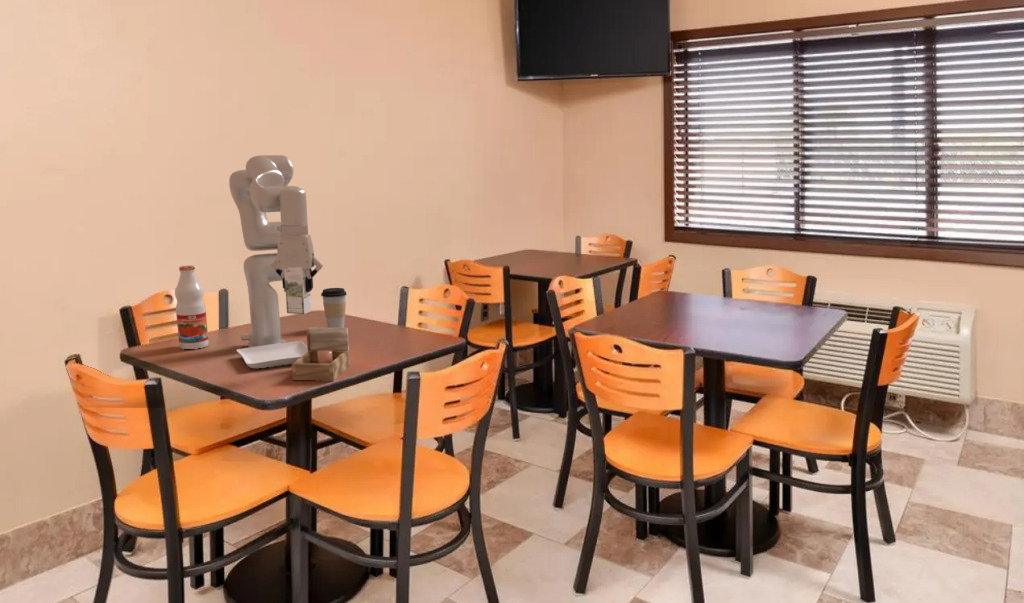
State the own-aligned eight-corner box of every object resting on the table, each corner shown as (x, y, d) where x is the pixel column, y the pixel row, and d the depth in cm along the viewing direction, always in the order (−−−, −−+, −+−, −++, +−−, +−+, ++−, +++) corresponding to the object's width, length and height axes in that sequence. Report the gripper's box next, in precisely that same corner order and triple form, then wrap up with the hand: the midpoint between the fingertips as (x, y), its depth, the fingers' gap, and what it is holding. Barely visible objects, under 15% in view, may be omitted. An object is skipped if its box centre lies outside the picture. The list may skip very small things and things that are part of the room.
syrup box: (312, 310, 235) (309, 262, 232) (304, 314, 229) (301, 266, 226) (294, 309, 236) (292, 262, 233) (286, 313, 230) (283, 265, 227)
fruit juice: (209, 342, 273) (202, 263, 268) (208, 348, 264) (201, 267, 259) (180, 345, 270) (172, 265, 265) (178, 351, 261) (170, 269, 256)
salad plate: (247, 373, 234) (246, 362, 233) (236, 358, 252) (235, 348, 252) (317, 364, 244) (317, 353, 243) (301, 350, 262) (301, 340, 261)
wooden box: (333, 381, 223) (331, 340, 221) (291, 381, 224) (288, 340, 222) (349, 365, 240) (347, 327, 238) (310, 365, 241) (307, 327, 239)
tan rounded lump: (316, 371, 233) (315, 352, 232) (321, 368, 238) (319, 349, 237) (330, 372, 233) (329, 352, 232) (335, 368, 237) (333, 349, 236)
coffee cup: (345, 331, 288) (343, 291, 285) (320, 331, 288) (317, 291, 285) (351, 325, 297) (348, 287, 294) (326, 326, 297) (324, 287, 294)
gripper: (261, 232, 224) (265, 293, 228) (319, 232, 223) (322, 294, 227) (270, 229, 231) (274, 288, 235) (327, 229, 230) (330, 289, 234)
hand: (298, 290), depth 231 cm, fingers closed on syrup box, 6 cm apart
